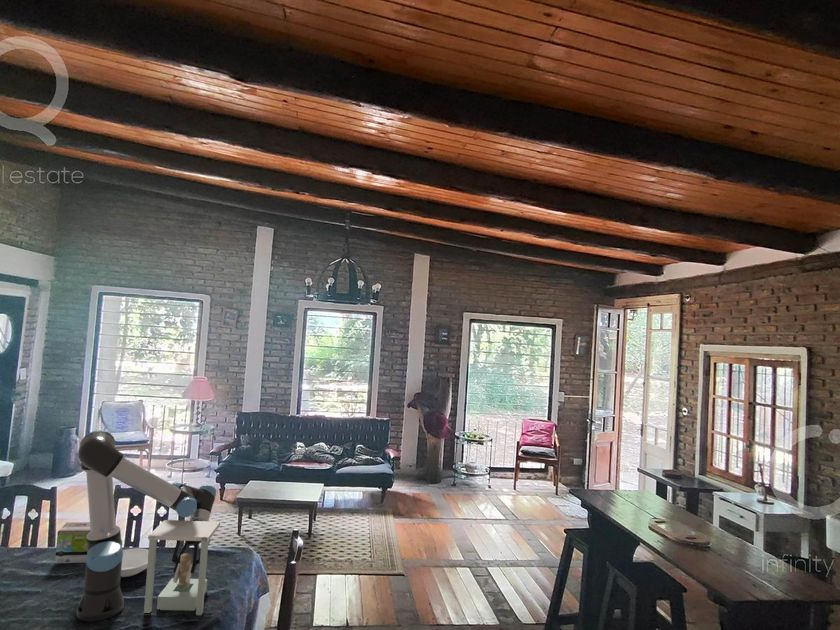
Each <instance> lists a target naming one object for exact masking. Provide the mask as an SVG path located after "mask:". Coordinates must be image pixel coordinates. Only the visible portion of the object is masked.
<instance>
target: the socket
mask: <svg viewBox="0 0 840 630" xmlns="http://www.w3.org/2000/svg"><path fill="white" fill-rule="evenodd" d="M220 526H221V521H214V520H213V521H211V520H209V521H190V520H183V519H182V520H180V519H178V520H175V519H164V520H163V521H162V522H161V523H160V524H158V525H157V526H156V527H155V529H154V530H153V531H151V533H149V534H148V536H147V540H148V541H149V542H148V550H149V552H148V565H147V568H146V579H145V595H144V607H143V614H144V613H150V612H151V613H152V609H153V608H152V607H153V595H154V586H155V585H154V584H155V573H156V570H155V569H156V559H157V558H156V557H157V543H158V541H177V540H182V542H183V541H184V542H185V541H201V543H200V553H201V554H200V553H199V556H200V564H199V567H198V569H199V571H198V578H190V585H189V586H188V587H186V588H179V577H178V580H177V583H174V581H173V579H174V577H172V578H171V579H170V580H169V581H168V583H167V584H166V586H165V587H164V588H163V589H162V590H161V591H160V593H159V595H158V596H157V602H156V603H157V604H156V605H157V606H156V610H157V609H158V610H159V609H160V610H159V611H195V615H196V616H202V614H203V613H204V602H205V595H206V592H207V588H208V579H207V566H208V565H207V564H208V552H209V544H208V541H209V540H211V538H212V537H213V535H214V534H215V533H216V531H218V529H219V528H220ZM158 610H157V611H158ZM151 613H150V614H151Z"/></svg>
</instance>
